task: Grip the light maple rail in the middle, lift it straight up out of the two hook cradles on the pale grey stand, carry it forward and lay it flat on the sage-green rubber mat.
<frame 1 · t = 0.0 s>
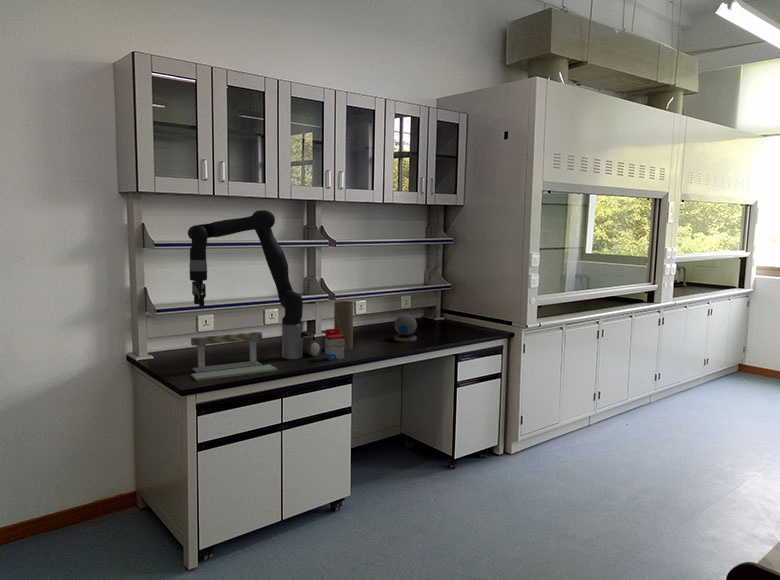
hand: (199, 305, 267), 29 cm above the worktop, fingers open, 8 cm apart
rail: (227, 341, 269), point 12 cm above the worktop, touching hook stand
hook stand: (227, 368, 271), on the worktop
webcam: (405, 339, 344), on the worktop
tube: (343, 348, 318), on the worktop
ink box: (334, 358, 294), on the worktop
mat: (235, 373, 262), on the worktop
pipe fitting: (308, 355, 301), on the worktop
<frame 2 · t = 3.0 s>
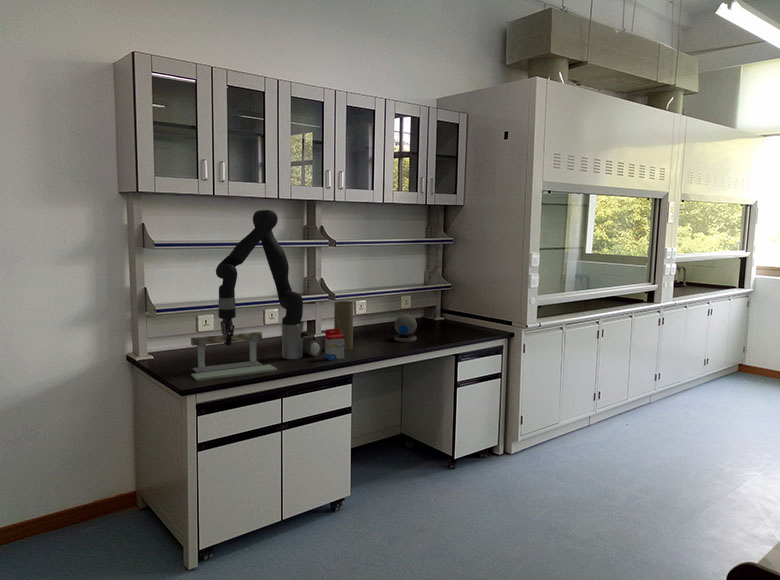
hand: (227, 344, 270), 11 cm above the worktop, fingers closed on rail, 3 cm apart
rail: (227, 341, 269), point 12 cm above the worktop, touching gripper, hook stand
everything else where it was.
when the fingers open (2 cm above the worktop, at t = 8.6 s): rail drops 2 cm, resting on mat.
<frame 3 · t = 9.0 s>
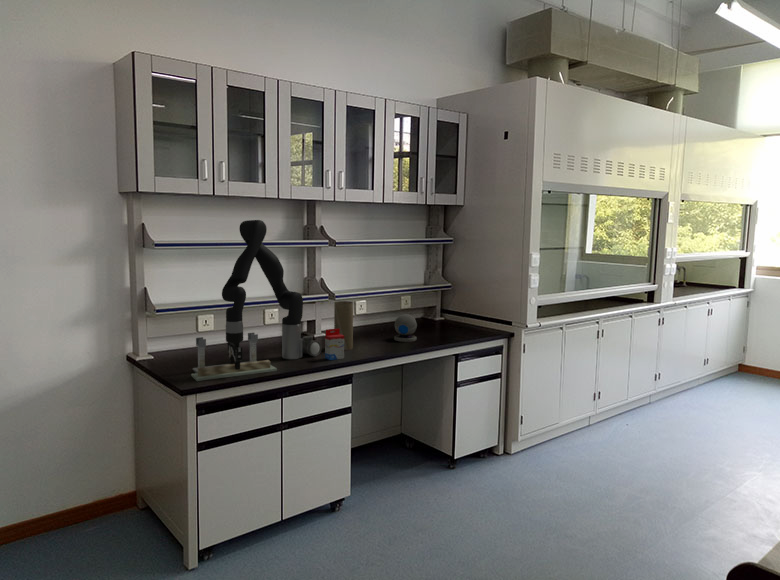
hand: (235, 367, 262), 3 cm above the worktop, fingers open, 6 cm apart
rail: (235, 371, 262), point 1 cm above the worktop, touching mat
everything else where it was.
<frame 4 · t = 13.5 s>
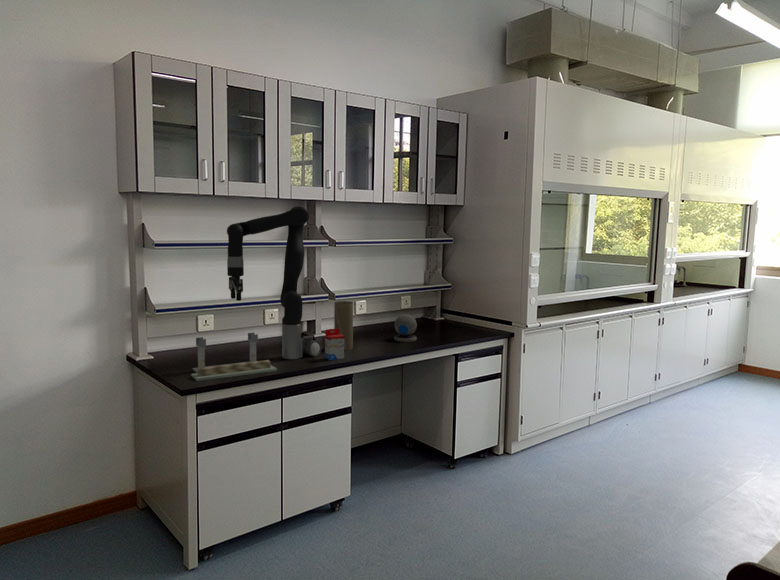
hand: (235, 299, 282), 30 cm above the worktop, fingers open, 8 cm apart
nothing on the worktop moved.
at the end: rail inside the target area (0.0 cm from its centre), point 1.0 cm above the worktop; rail tilted 0°; the gripper is holding nothing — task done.
